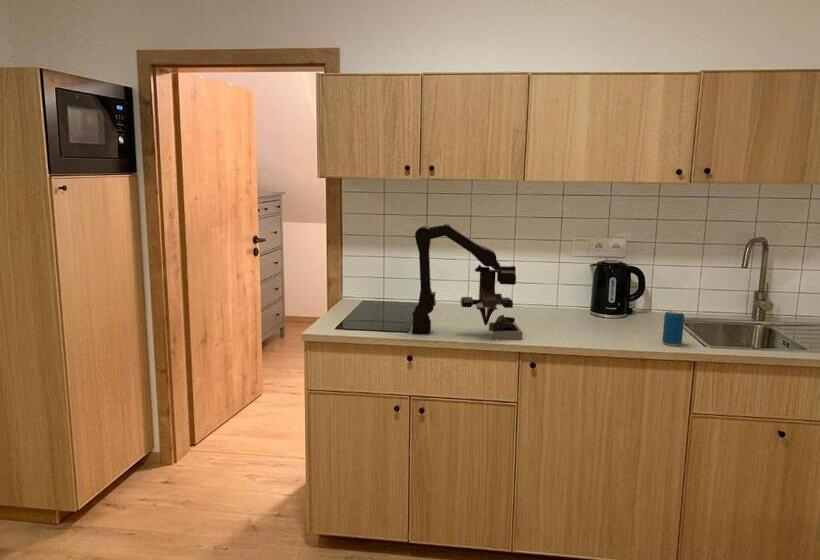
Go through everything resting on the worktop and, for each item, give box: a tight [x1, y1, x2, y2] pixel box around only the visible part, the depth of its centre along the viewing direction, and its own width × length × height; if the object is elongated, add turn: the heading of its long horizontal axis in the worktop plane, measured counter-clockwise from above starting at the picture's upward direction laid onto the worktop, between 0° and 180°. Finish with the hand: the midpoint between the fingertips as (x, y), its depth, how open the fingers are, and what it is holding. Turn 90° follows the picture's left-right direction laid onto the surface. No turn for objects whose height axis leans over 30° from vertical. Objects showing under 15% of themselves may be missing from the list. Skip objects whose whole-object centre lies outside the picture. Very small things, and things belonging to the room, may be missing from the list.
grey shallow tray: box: [488, 321, 523, 341], centre depth 238 cm, size 10×14×3 cm
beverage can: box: [662, 309, 685, 347], centre depth 228 cm, size 6×6×12 cm
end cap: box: [493, 314, 516, 334], centre depth 237 cm, size 10×7×7 cm
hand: (485, 324), depth 237 cm, fingers closed
